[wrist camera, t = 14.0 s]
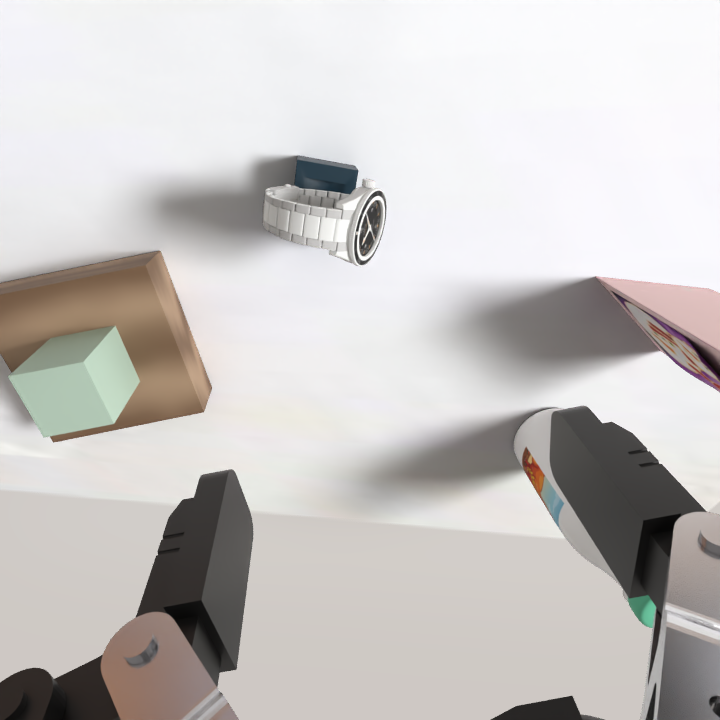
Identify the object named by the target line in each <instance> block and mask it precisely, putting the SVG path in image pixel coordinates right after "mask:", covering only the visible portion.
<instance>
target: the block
mask: <svg viewBox="0 0 720 720" xmlns="http://www.w3.org/2000/svg"><path fill="white" fill-rule="evenodd" d="M8 378H9V379H10V381H11V383H12V385H13V386H14V388H15V390H16V391H17V393H18V395H19V396H20V398H21V400H22V401H23V403H24V405H25V407H26V408H27V410H28V412H29V413H30V415H31V417H32V418H33V420H34V422H35V423H36V425H37V427H38V429H39V430H40V432H41V434H42V435H43V437H49V436H54V435H59V434H65V433H70V432H75V431H80V430H85V429H90V428H95V427H101V426H106V425H111V424H114V423H115V422H116V420H117V418H118V417H119V415H120V413H121V412H122V410H123V408H124V407H125V405H126V404H127V402H128V400H129V399H130V397H131V395H132V394H133V392H134V390H135V389H136V387H137V386H138V384H139V382H140V380H139V378H138V375H137V373H136V371H135V369H134V366H133V364H132V362H131V360H130V357H129V355H128V353H127V351H126V348H125V346H124V344H123V342H122V339H121V337H120V335H119V333H118V330H117V328H116V326H110V327H105V328H100V329H95V330H90V331H85V332H79V333H74V334H69V335H64V336H59V337H54V338H50V339H49V340H48V341H47V342H46V343H45V344H44V345H42V346H41V347H40V348H39V349H38V350H37V351H36V352H35V353H34V354H32V355H31V356H30V357H29V358H28V359H27V360H26V361H25V362H24V363H22V364H21V365H20V366H19V367H18V368H17V369H16V370H15V371H14V372H12V373H11V374H10V375H9V376H8Z"/></svg>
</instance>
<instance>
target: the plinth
mask: <svg viewBox="0 0 720 720" xmlns="http://www.w3.org/2000/svg"><path fill="white" fill-rule="evenodd" d="M110 326H116V328H117V330H118V333H119V335H120V337H121V339H122V342H123V344H124V346H125V348H126V351H127V353H128V355H129V357H130V360H131V362H132V364H133V366H134V369H135V371H136V373H137V375H138V378H139V380H140V382H139V384H138V386H137V387H136V389H135V390H134V392H133V394H132V395H131V397H130V399H129V400H128V402H127V404H126V405H125V407H124V408H123V410H122V412H121V413H120V415H119V417H118V418H117V420H116V422H115V423H114V424H111V425H106V426H101V427H95V428H90V429H85V430H80V431H75V432H70V433H65V434H59V435H54V436H50V438H51V439H52V441H53V442H58V441H63V440H68V439H73V438H78V437H83V436H88V435H93V434H98V433H103V432H108V431H113V430H118V429H123V428H128V427H133V426H138V425H143V424H147V423H152V422H157V421H162V420H167V419H172V418H177V417H182V416H187V415H192V414H197V413H202V412H204V410H205V407H206V404H207V401H208V398H209V396H210V393H211V390H212V387H211V384H210V381H209V379H208V376H207V373H206V371H205V368H204V365H203V363H202V360H201V357H200V355H199V352H198V349H197V347H196V344H195V341H194V339H193V336H192V334H191V331H190V328H189V326H188V323H187V320H186V318H185V315H184V312H183V310H182V307H181V304H180V302H179V299H178V296H177V294H176V291H175V288H174V286H173V283H172V280H171V278H170V275H169V272H168V270H167V267H166V265H165V262H164V259H163V257H162V254H161V251H156V252H151V253H146V254H141V255H137V256H132V257H127V258H122V259H117V260H112V261H107V262H102V263H97V264H92V265H87V266H82V267H77V268H72V269H67V270H62V271H57V272H52V273H47V274H42V275H38V276H33V277H28V278H23V279H18V280H13V281H8V282H3V283H0V354H1V355H2V357H3V359H4V360H5V362H6V364H7V365H8V367H9V369H10V370H11V372H14V371H15V370H16V369H17V368H18V367H19V366H20V365H21V364H22V363H24V362H25V361H26V360H27V359H28V358H29V357H30V356H31V355H32V354H34V353H35V352H36V351H37V350H38V349H39V348H40V347H41V346H42V345H44V344H45V343H46V342H47V341H48V340H49V339H50V338H54V337H59V336H64V335H69V334H74V333H79V332H85V331H90V330H95V329H100V328H105V327H110Z"/></svg>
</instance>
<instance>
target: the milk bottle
mask: <svg viewBox="0 0 720 720" xmlns="http://www.w3.org/2000/svg"><path fill="white" fill-rule="evenodd" d="M557 410H563V409H560V408H552V409H547V410H543V411H541V412H538V413H536V414H534V415H533V416H531V417H529V418H528V419H527V420H526V421H525V422H524V423H523V424H522V425H521V426H520V428H519V429H518V431H517V433H516V436H515V440H514V452H515V455H516V457H517V459H518V461H519V463H520V464H521V466H522V468H523V469H524V471H525V473H526V474H527V476H528V478H529V480H530V481H531V483H532V485H533V486H534V488H535V490H536V491H537V493H538V495H539V496H540V498H541V500H542V501H543V503H544V505H545V506H546V508H547V510H548V511H549V513H550V515H551V516H552V518H553V520H554V521H555V523H556V524H557V526H558V527H559V529H560V530H561V532H562V533H563V535H564V537H565V538H566V539H567V541H568V542H569V543H570V544H571V546H572V547H573V548H574V549H575V550H576V551H577V552H578V553H579V554H580V555H581V556H583V557H584V558H585V559H586V560H588V561H589V562H591V563H592V564H594V565H595V566H597V567H598V568H600V569H601V570H603V571H604V572H605V573H607V574H608V575H609V576H611V577H612V578H613V579H614V580H615V581H616V582H617V583H618V584H619V585H620V583H619V582H618V580H617V578H616V577H615V575H614V574H613V572H612V571H611V569H610V567H609V566H608V564H607V563H606V561H605V559H604V558H603V556H602V555H601V553H600V551H599V550H598V548H597V547H596V545H595V544H594V542H593V540H592V539H591V537H590V536H589V534H588V532H587V531H586V529H585V528H584V526H583V525H582V523H581V521H580V520H579V518H578V517H577V515H576V513H575V512H574V510H573V509H572V507H571V506H570V504H569V502H568V501H567V499H566V498H565V496H564V494H563V493H562V491H561V490H560V488H559V486H558V485H557V483H556V481H555V479H554V477H553V474H552V471H551V467H550V433H551V416H552V413H553V412H554V411H557ZM620 586H621V585H620ZM621 587H622V586H621ZM622 589H623V588H622ZM623 596H624V598H625V599H626V600H627V601H628V602H629V605H630V607H631V609H632V610H633V612H634V614H635V615H636V617H637V618H638V619H639V621H641V622H642V623H643V624H644V625H645V626H647V627H650V628H653V620H654V614H655V609H656V606H655V604H654V603H653V602H652V600H651V599H650V597H649V596H648V595H646V596H641V597H635V598H630V599H629V597H628V596H627V594H626V593H625V591H624V590H623Z"/></svg>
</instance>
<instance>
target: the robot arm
mask: <svg viewBox="0 0 720 720" xmlns="http://www.w3.org/2000/svg"><path fill="white" fill-rule="evenodd" d="M550 467H551V471H552V474H553V477H554V479H555V481H556V483H557V485H558V486H559V488H560V490H561V491H562V493H563V494H564V496H565V498H566V499H567V501H568V502H569V504H570V506H571V507H572V509H573V510H574V512H575V513H576V515H577V517H578V518H579V520H580V521H581V523H582V525H583V526H584V528H585V529H586V531H587V532H588V534H589V536H590V537H591V539H592V540H593V542H594V544H595V545H596V547H597V548H598V550H599V551H600V553H601V555H602V556H603V558H604V559H605V561H606V563H607V564H608V566H609V567H610V569H611V571H612V572H613V574H614V575H615V577H616V578H617V580H618V582H619V583H620V585H621V586H622V588H623V590H624V591H625V593H626V594H627V596H628V597H629V599H630V598H635V597H641V596H646V595H648V596H649V597H650V599H651V600H652V602H653V603H654V604H655V606H656V609H655V614H654V620H653V629H652V637H651V645H650V653H649V662H648V670H647V677H646V685H645V693H644V700H643V707H642V713H641V718H640V720H720V515H719V514H715V513H711V512H707V511H705V510H704V508H703V507H702V506H701V505H700V504H699V503H698V502H697V501H696V500H695V499H694V498H693V497H692V496H691V495H690V494H689V493H688V492H687V490H686V489H685V488H684V487H683V486H682V485H681V484H680V483H679V482H678V481H677V480H676V479H675V478H674V477H673V476H672V475H671V474H670V472H669V471H668V470H667V469H666V468H665V467H664V466H663V465H662V464H659V462H658V460H657V459H656V458H655V457H654V456H653V455H652V453H651V452H650V451H649V452H648V451H647V448H646V447H645V446H644V445H643V444H642V443H641V442H640V441H639V440H638V439H637V438H636V437H635V435H634V434H633V433H631V432H629V431H627V430H626V429H624V428H622V427H620V426H618V425H617V424H615V423H613V422H608V423H603V424H602V423H601V421H600V420H599V419H598V418H597V417H596V416H595V415H594V414H593V412H592V411H591V410H590V409H589V408H588V407H586V406H579V407H574V408H568V409H563V410H557V411H554V412H553V413H552V416H551V433H550ZM252 542H253V523H252V518H251V513H250V510H249V508H248V505H247V502H246V500H245V497H244V494H243V492H242V489H241V486H240V484H239V481H238V478H237V476H236V473H235V472H234V470H232V469H231V470H225V471H220V472H215V473H209V474H204V475H202V476H201V477H200V479H199V482H198V486H197V489H196V493H195V496H194V498H189V499H184V500H182V501H181V502H180V504H179V505H178V506H177V508H176V509H175V510H174V511H173V513H172V514H171V515H170V517H169V519H168V522H167V525H166V528H165V531H164V534H163V540H161V543H160V546H159V549H158V555H157V556H156V558H155V562H154V564H153V567H152V570H151V573H150V576H149V579H148V582H147V585H146V588H145V591H144V595H143V597H142V600H141V604H140V607H139V610H138V613H137V615H136V618H134V619H133V620H131V621H130V622H128V623H127V624H125V625H124V626H123V627H122V628H121V629H120V630H119V631H118V632H117V633H116V634H115V635H114V636H113V637H112V639H111V640H110V642H109V643H108V645H107V647H106V649H105V651H104V653H103V655H101V656H100V657H98V658H96V659H94V660H92V661H90V662H88V663H86V664H84V665H82V666H80V667H78V668H76V669H74V670H72V671H70V672H68V673H66V674H64V675H62V676H60V677H58V678H56V679H53V677H52V676H51V675H50V674H49V673H48V672H47V671H45V670H44V669H40V668H30V669H26V670H23V671H20V672H17V673H15V674H13V675H11V676H10V677H8V678H6V679H5V680H3V681H2V682H1V683H0V720H239V719H238V717H237V716H236V714H235V713H234V711H233V710H232V708H231V707H230V705H229V703H228V702H227V700H226V699H225V697H224V696H223V694H222V693H220V691H219V690H218V688H217V685H218V679H219V673H220V672H225V671H231V670H236V669H237V661H238V653H239V645H240V637H241V629H242V622H243V613H244V606H245V597H246V590H247V582H248V573H249V565H250V558H251V550H252ZM491 720H604V719H600V718H596V717H592V716H588V715H580V712H579V710H578V708H577V706H576V703H575V701H574V699H573V697H572V696H569V697H563V698H558V699H552V700H547V701H541V702H536V703H531V704H525V705H520V706H516V707H514V708H512V709H510V710H508V711H506V712H504V713H502V714H501V715H499V716H497V717H495V718H493V719H491Z"/></svg>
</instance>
